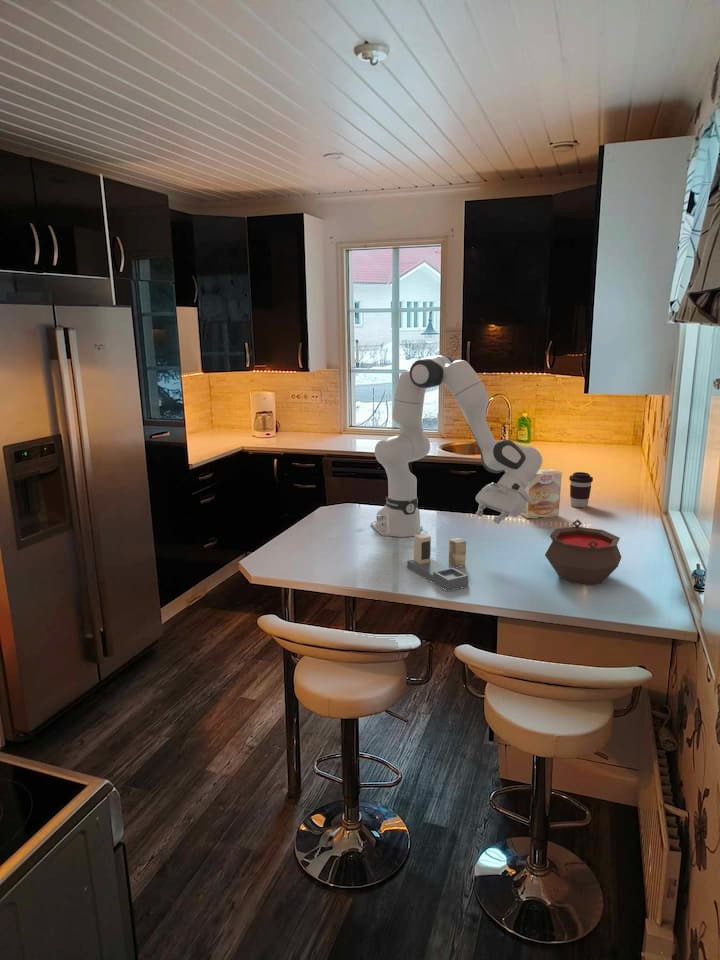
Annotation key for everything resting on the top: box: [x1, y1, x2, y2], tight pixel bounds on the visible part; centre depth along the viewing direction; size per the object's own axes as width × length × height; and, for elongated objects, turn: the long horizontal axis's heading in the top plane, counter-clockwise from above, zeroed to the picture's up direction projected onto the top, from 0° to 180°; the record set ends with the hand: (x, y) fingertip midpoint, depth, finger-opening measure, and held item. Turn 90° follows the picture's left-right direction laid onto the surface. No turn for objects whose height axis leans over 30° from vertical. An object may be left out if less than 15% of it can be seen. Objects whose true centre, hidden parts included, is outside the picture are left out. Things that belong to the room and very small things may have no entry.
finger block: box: [448, 537, 467, 568], centre depth 217 cm, size 4×4×9 cm
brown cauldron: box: [544, 518, 622, 586], centre depth 205 cm, size 24×24×16 cm
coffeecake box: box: [521, 468, 563, 519], centre depth 271 cm, size 15×7×20 cm, turn 104°
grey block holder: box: [406, 532, 469, 592], centre depth 206 cm, size 23×8×12 cm, turn 28°
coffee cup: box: [568, 471, 594, 508], centre depth 285 cm, size 10×10×15 cm
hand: (486, 518), depth 220 cm, fingers open, 8 cm apart
